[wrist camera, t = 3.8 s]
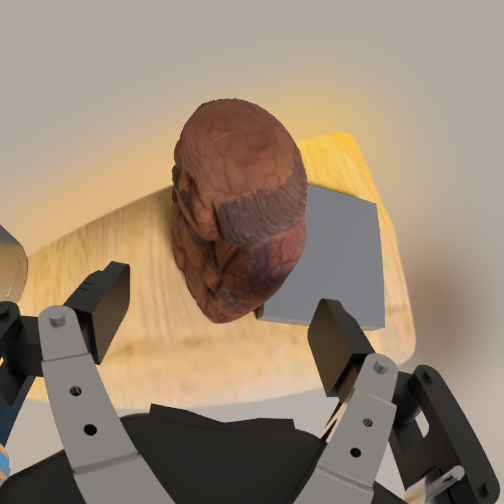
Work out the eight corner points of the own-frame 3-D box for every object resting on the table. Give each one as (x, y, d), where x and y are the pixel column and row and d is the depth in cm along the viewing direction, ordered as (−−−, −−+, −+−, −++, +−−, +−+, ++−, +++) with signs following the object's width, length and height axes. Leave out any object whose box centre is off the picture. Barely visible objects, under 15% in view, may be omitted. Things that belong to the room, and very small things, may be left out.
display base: (256, 319, 26) (263, 315, 24) (269, 189, 32) (275, 176, 30) (371, 330, 28) (384, 327, 26) (365, 213, 34) (376, 203, 32)
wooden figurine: (161, 230, 27) (140, 76, 11) (217, 209, 30) (249, 58, 13) (209, 338, 25) (242, 292, 8) (269, 309, 27) (382, 223, 10)
